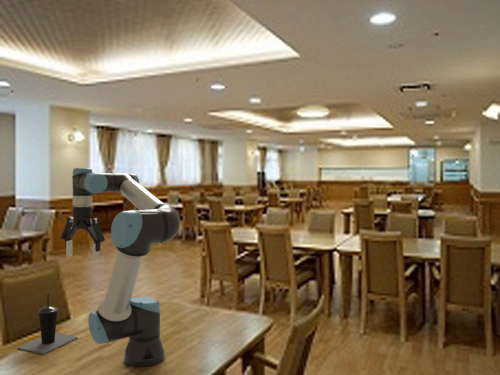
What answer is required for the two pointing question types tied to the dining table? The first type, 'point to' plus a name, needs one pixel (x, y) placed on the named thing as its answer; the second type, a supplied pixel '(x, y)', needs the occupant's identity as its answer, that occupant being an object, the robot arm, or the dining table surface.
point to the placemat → (46, 348)
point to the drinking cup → (48, 322)
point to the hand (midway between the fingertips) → (82, 257)
